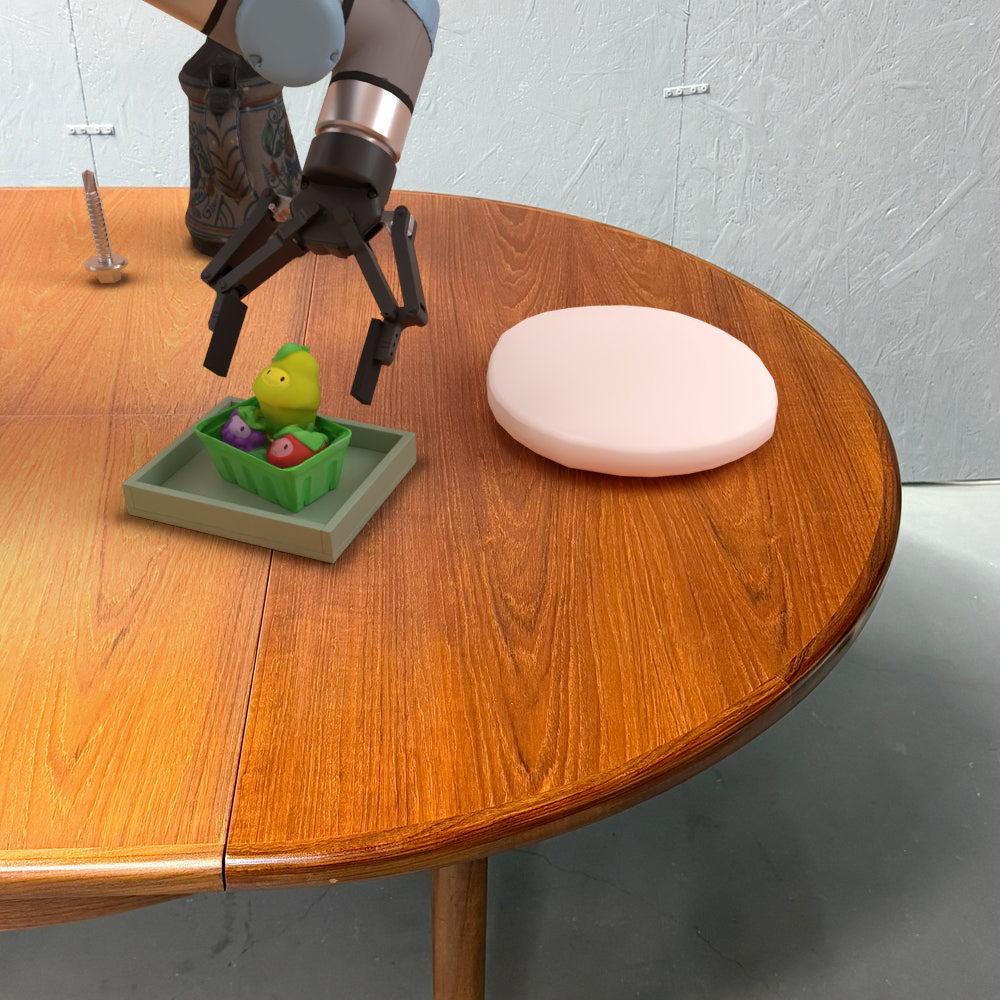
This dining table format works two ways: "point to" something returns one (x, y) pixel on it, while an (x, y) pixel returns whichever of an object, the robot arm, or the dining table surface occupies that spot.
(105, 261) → the screw
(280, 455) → the fruit basket
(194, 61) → the dark brown tall vessel
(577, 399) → the pale pink round cushion
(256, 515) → the tray
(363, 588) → the dining table surface
